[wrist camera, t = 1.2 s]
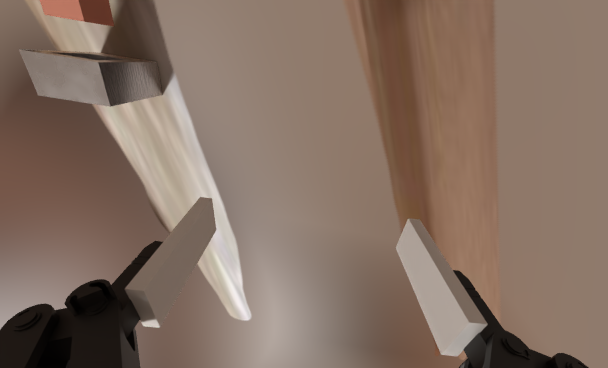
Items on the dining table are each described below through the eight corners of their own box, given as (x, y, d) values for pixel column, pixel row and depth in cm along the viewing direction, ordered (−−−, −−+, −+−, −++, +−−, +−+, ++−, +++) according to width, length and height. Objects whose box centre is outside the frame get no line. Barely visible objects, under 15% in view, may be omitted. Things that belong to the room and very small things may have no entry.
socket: (100, 52, 31) (18, 49, 23) (157, 62, 32) (98, 62, 23) (109, 86, 34) (38, 95, 25) (162, 94, 34) (110, 106, 25)
